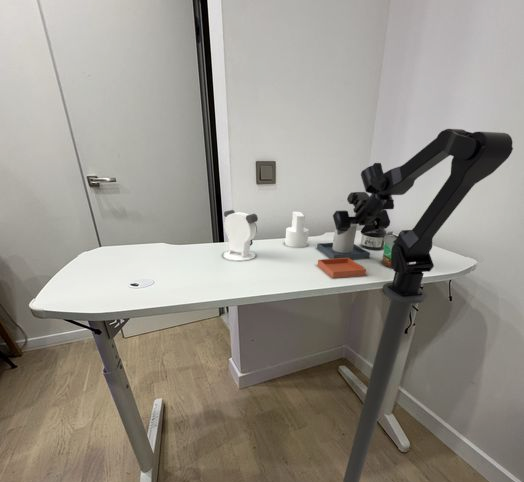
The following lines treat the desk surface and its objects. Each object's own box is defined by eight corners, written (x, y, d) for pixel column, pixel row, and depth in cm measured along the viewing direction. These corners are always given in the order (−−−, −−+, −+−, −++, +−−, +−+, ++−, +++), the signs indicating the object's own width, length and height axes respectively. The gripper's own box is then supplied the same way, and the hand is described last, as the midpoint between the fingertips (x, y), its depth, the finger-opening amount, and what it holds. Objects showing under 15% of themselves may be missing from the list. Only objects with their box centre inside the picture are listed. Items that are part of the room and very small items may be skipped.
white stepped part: (283, 241, 121) (285, 211, 116) (304, 240, 122) (307, 211, 117) (287, 247, 114) (289, 216, 108) (309, 247, 114) (312, 216, 109)
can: (328, 251, 108) (332, 219, 103) (337, 247, 113) (342, 216, 108) (346, 256, 104) (352, 222, 98) (355, 251, 109) (361, 219, 104)
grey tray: (369, 258, 105) (370, 252, 104) (333, 260, 101) (334, 255, 100) (349, 246, 117) (350, 241, 116) (316, 248, 113) (317, 243, 113)
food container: (370, 259, 103) (376, 231, 98) (385, 258, 105) (391, 230, 100) (394, 272, 93) (402, 241, 88) (410, 270, 94) (418, 240, 90)
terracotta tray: (365, 275, 90) (366, 269, 89) (332, 278, 87) (333, 272, 86) (347, 263, 99) (348, 257, 98) (317, 265, 97) (317, 259, 96)
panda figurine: (263, 254, 105) (264, 212, 98) (244, 263, 97) (244, 217, 90) (236, 248, 111) (236, 208, 104) (217, 256, 102) (214, 212, 95)
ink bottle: (355, 246, 117) (360, 216, 111) (364, 242, 123) (370, 213, 117) (378, 252, 111) (385, 220, 106) (387, 247, 117) (394, 216, 111)
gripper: (392, 183, 92) (367, 212, 107) (339, 183, 88) (320, 214, 102) (403, 213, 89) (375, 239, 104) (348, 215, 85) (327, 242, 99)
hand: (349, 233), depth 102 cm, fingers open, 9 cm apart
